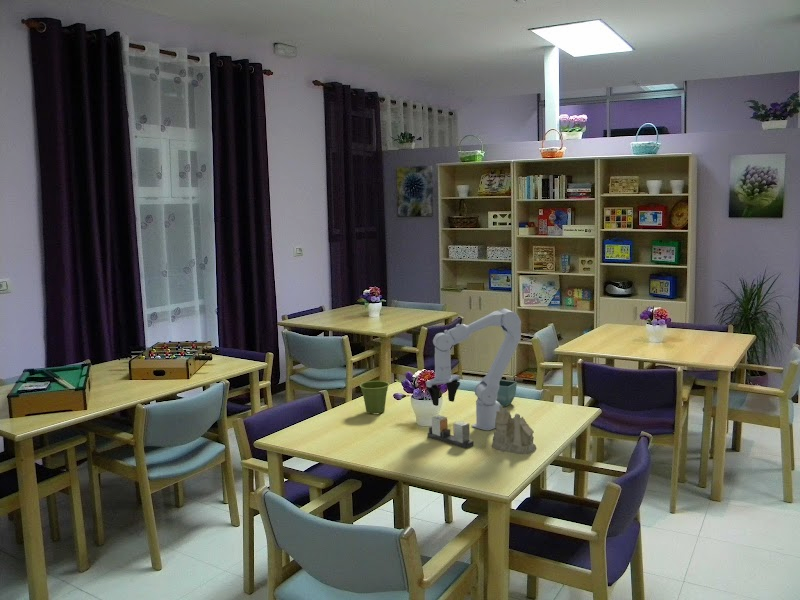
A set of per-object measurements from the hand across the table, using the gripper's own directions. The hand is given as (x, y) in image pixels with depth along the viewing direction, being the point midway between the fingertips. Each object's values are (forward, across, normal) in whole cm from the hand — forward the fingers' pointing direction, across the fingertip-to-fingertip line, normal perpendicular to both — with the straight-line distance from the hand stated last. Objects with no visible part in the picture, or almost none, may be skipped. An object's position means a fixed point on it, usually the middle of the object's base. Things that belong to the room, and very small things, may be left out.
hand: (443, 403), depth 259 cm
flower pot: (+10, +40, +8) cm, 42 cm away
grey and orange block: (+8, -8, -6) cm, 13 cm away
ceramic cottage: (+10, +7, -29) cm, 32 cm away
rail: (+10, -7, -11) cm, 16 cm away
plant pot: (+10, -5, +36) cm, 37 cm away
